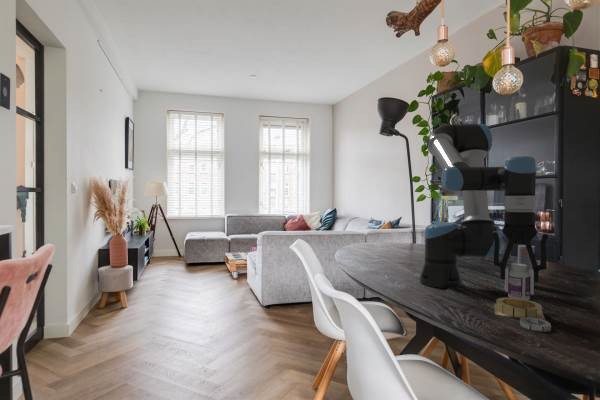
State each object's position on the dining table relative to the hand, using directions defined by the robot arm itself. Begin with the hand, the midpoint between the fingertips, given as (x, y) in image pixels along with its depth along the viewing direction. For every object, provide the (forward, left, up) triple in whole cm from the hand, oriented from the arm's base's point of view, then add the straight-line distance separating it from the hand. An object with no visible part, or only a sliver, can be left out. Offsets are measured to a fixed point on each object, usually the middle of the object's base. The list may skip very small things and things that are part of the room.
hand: (518, 291), depth 101 cm
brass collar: (0, 0, -6) cm, 6 cm away
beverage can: (+5, +40, -7) cm, 41 cm away
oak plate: (0, 0, -7) cm, 7 cm away
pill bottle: (0, 0, -2) cm, 2 cm away
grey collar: (+3, -11, -7) cm, 13 cm away
